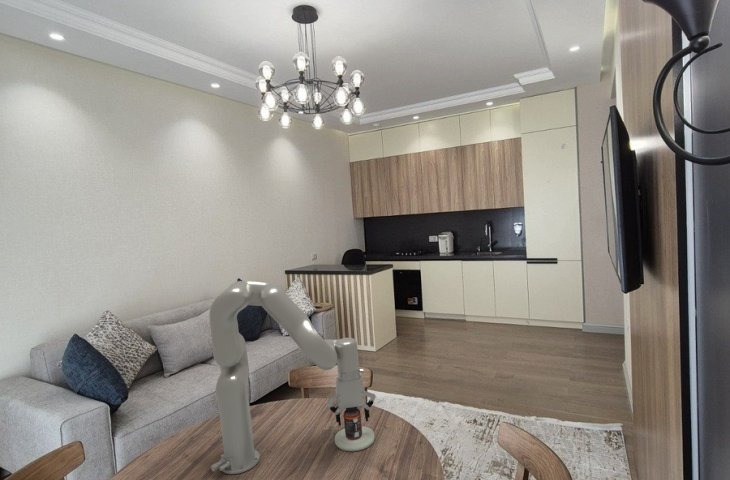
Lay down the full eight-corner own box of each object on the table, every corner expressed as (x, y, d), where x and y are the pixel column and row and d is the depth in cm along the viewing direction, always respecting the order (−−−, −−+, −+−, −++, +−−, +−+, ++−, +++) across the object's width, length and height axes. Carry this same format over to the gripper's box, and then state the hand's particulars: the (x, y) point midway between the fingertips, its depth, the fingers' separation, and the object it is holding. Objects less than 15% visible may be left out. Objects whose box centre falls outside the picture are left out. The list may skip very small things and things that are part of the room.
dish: (358, 456, 131) (357, 451, 131) (326, 444, 140) (326, 440, 140) (382, 435, 142) (381, 431, 142) (351, 426, 151) (351, 422, 151)
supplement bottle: (362, 440, 138) (359, 408, 137) (345, 441, 138) (342, 409, 137) (362, 430, 144) (360, 400, 143) (346, 432, 144) (343, 401, 143)
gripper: (371, 367, 145) (375, 412, 145) (323, 373, 142) (328, 420, 143) (374, 374, 137) (379, 423, 138) (324, 382, 135) (329, 431, 136)
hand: (353, 421), depth 141 cm, fingers open, 9 cm apart
